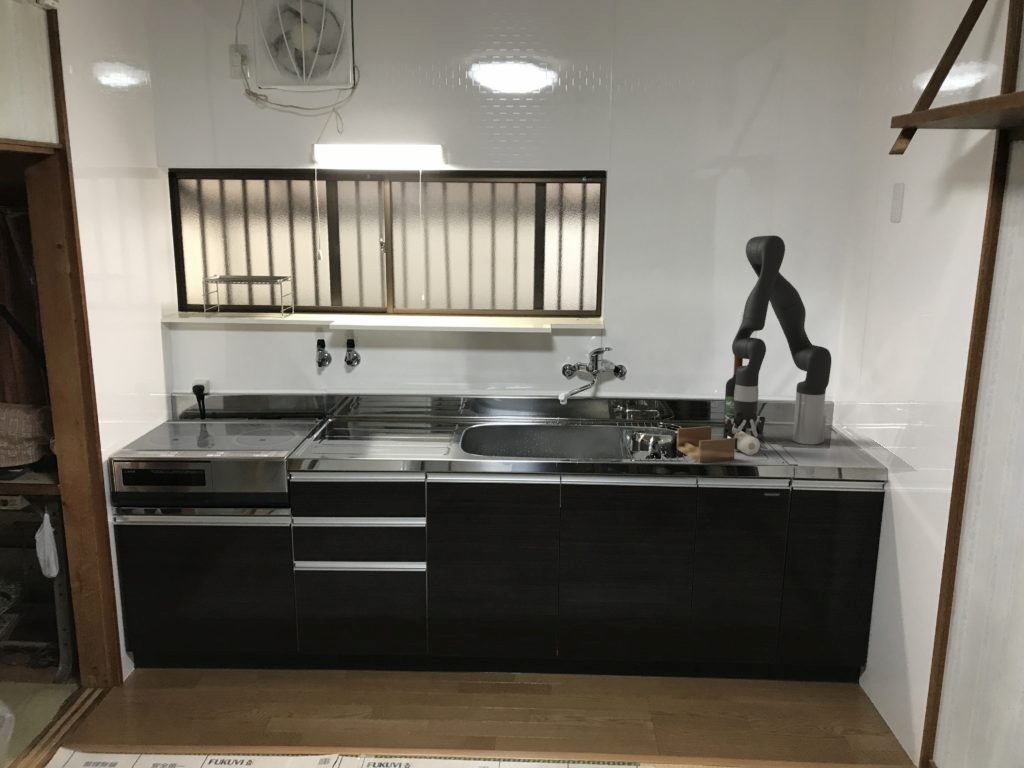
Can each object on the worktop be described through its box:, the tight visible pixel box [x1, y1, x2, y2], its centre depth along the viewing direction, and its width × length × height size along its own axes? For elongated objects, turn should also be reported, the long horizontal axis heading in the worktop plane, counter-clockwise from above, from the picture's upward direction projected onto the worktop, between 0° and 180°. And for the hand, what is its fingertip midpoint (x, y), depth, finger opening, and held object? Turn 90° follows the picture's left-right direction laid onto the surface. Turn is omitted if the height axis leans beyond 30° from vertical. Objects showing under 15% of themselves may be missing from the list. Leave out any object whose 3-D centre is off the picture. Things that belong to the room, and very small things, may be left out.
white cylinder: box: [727, 431, 761, 456], centre depth 248 cm, size 10×6×6 cm
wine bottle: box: [722, 354, 747, 439], centre depth 260 cm, size 8×8×30 cm
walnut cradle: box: [676, 425, 736, 463], centre depth 245 cm, size 16×12×7 cm
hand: (743, 447), depth 249 cm, fingers closed on white cylinder, 6 cm apart
